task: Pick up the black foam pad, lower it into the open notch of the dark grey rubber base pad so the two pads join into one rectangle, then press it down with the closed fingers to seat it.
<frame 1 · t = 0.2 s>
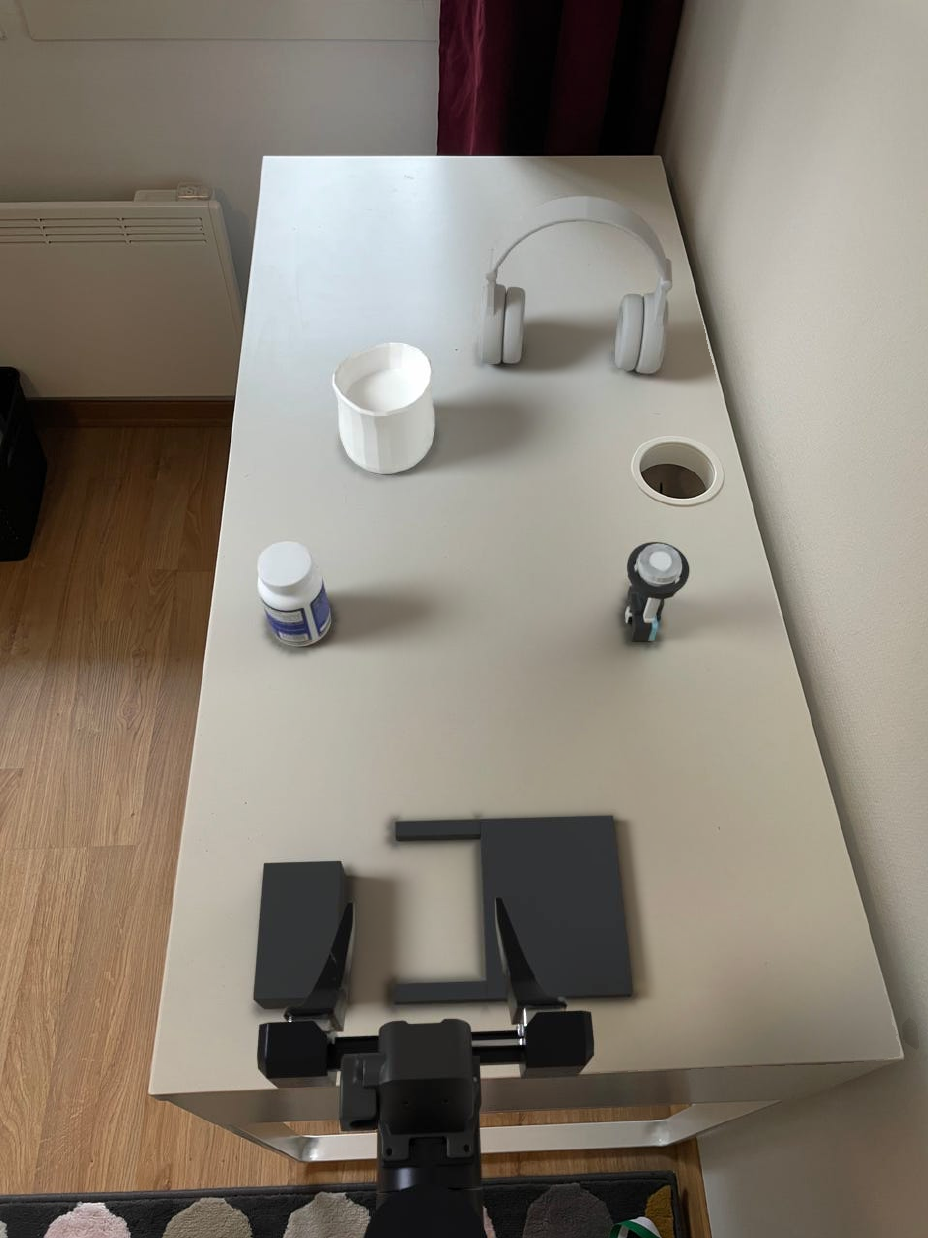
hand: (424, 900, 60), 17 cm above the table, tool horizontal, fingers open, 9 cm apart
pill bottle: (301, 623, 90), on the table
foam pad: (305, 939, 75), on the table
base pad: (495, 908, 76), on the table
cup: (388, 443, 101), on the table
headphones: (567, 358, 108), on the table
push button: (640, 615, 91), on the table
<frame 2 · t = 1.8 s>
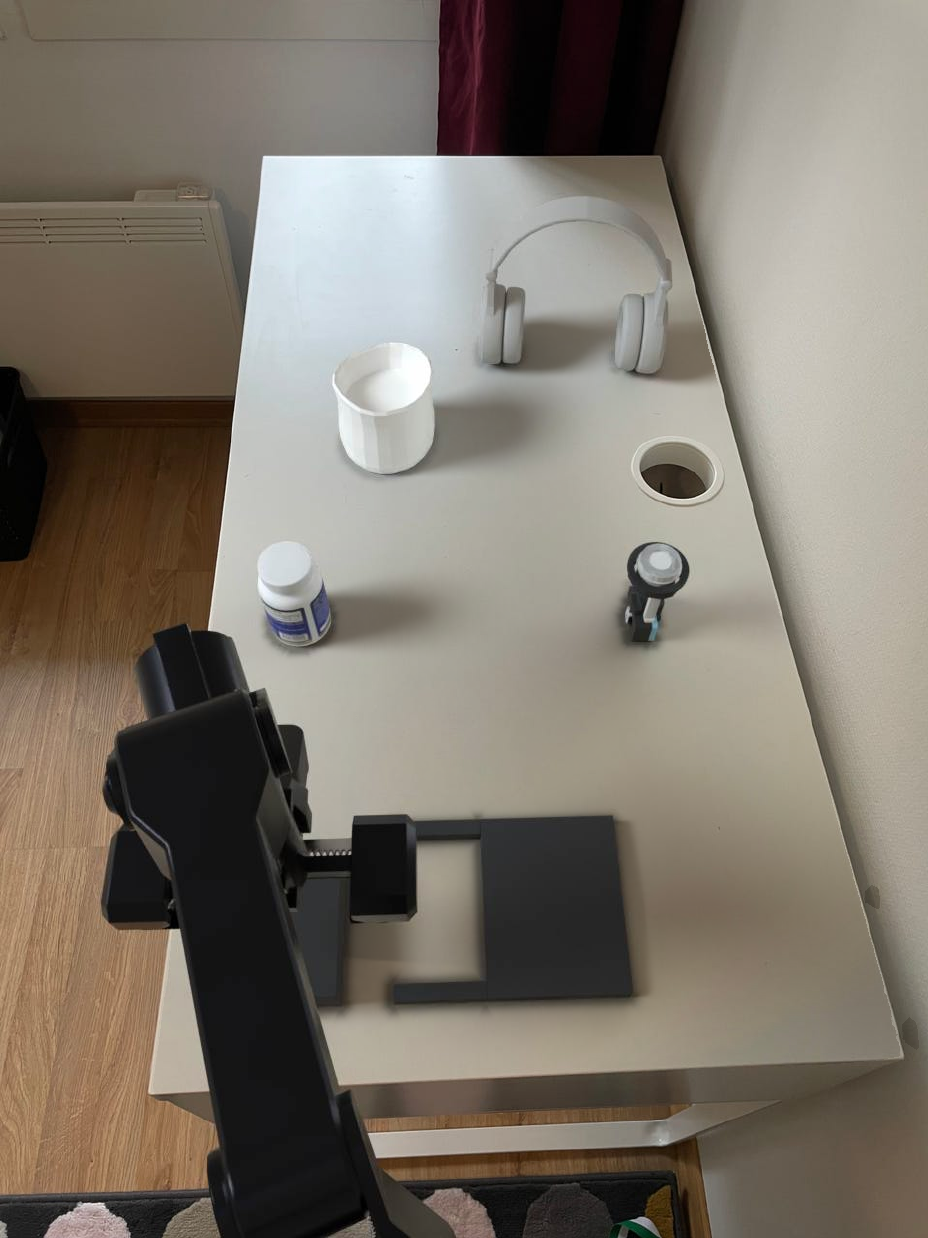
hand: (285, 905, 66), 11 cm above the table, tool pointing down, fingers open, 9 cm apart
nothing on the table moved.
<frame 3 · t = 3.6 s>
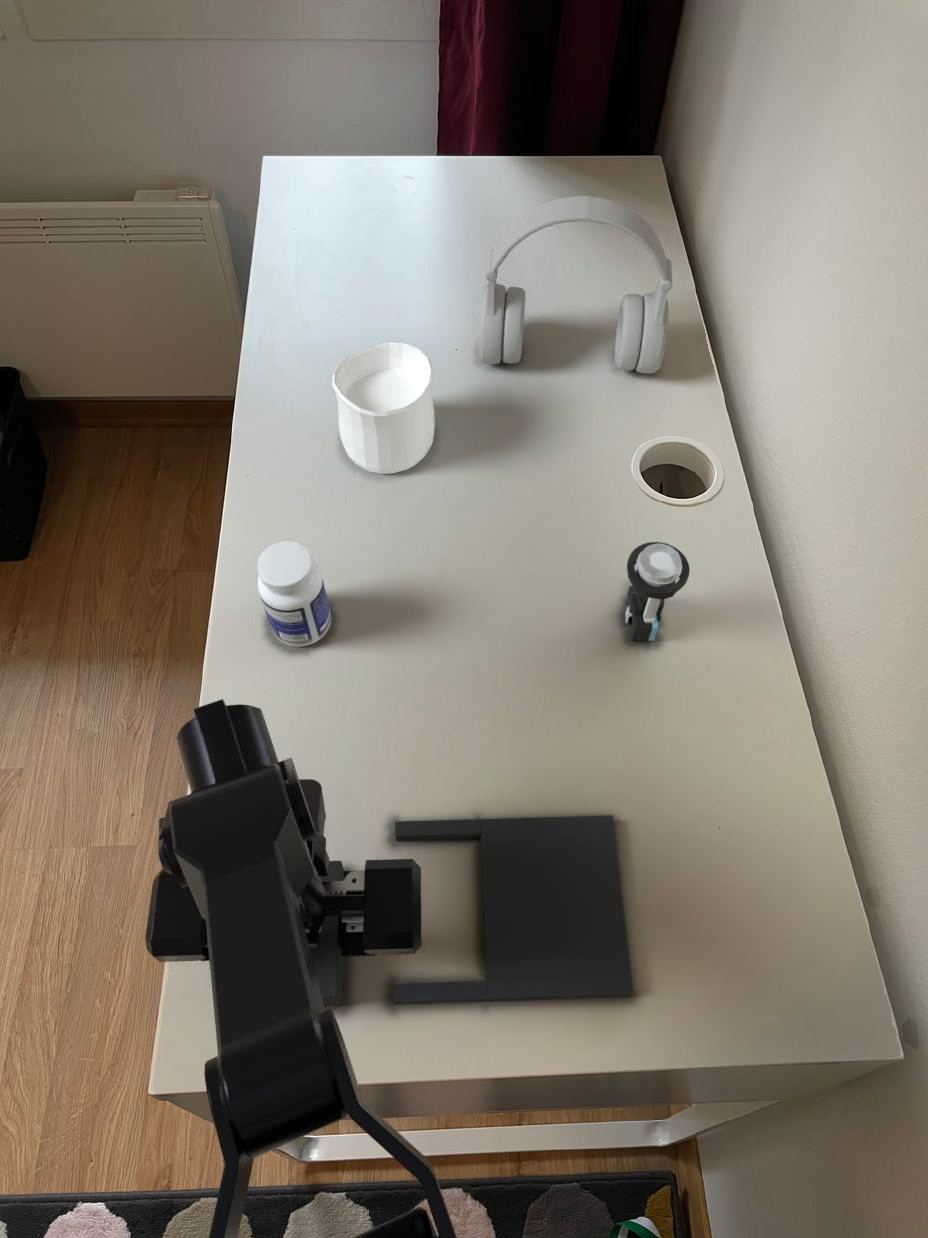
hand: (304, 936, 74), 1 cm above the table, tool pointing down, fingers closed on foam pad, 6 cm apart
foam pad: (305, 939, 75), on the table, touching gripper
everything else where it was.
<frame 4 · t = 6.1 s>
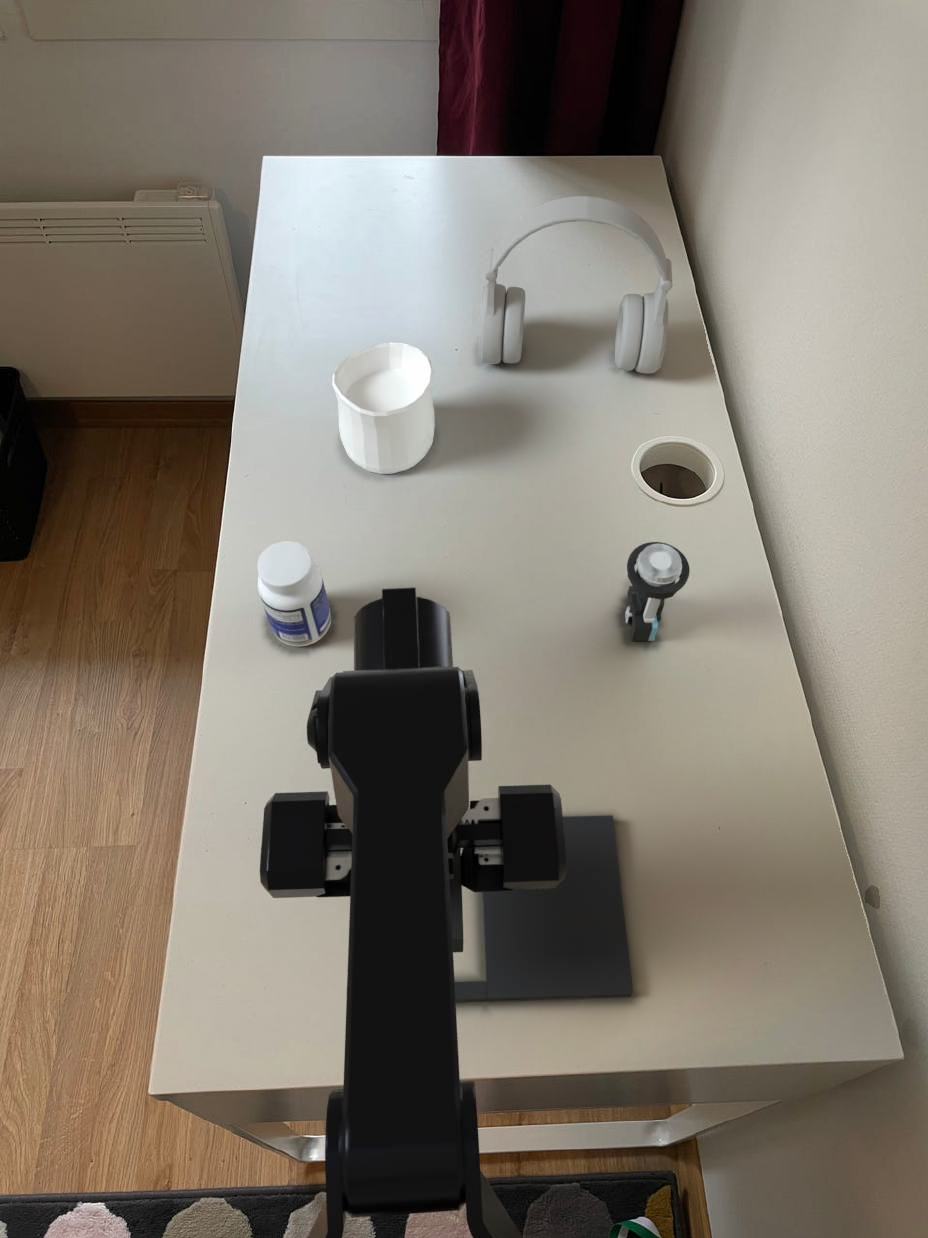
hand: (418, 877, 67), 10 cm above the table, tool pointing down, fingers closed on foam pad, 6 cm apart
foam pad: (418, 881, 68), point 9 cm above the table, touching gripper
everything else where it was.
when the fingers open (1 cm above the table, at t = 8.8 s): foam pad stays where it is, on the table.
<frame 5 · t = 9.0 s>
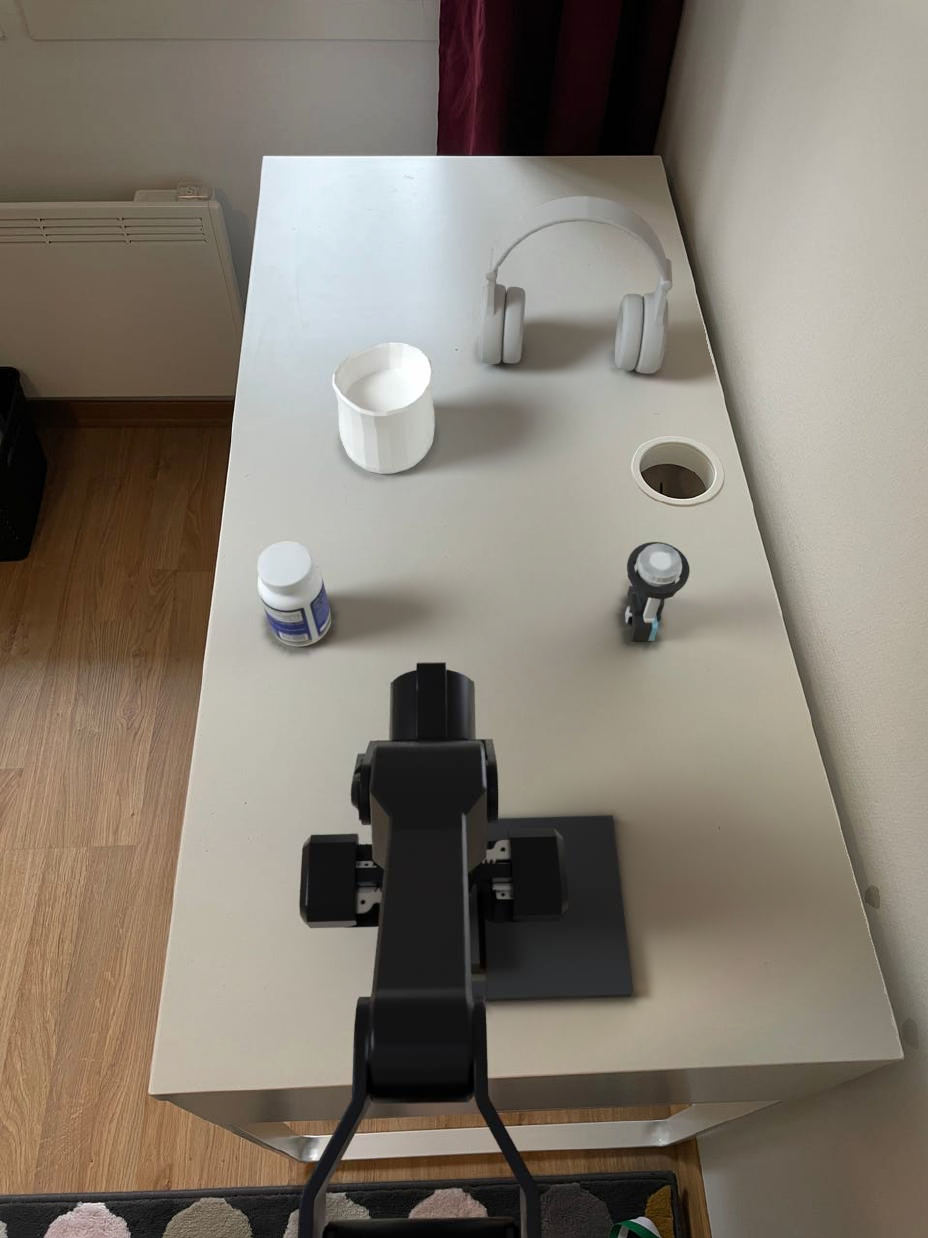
hand: (435, 907, 75), 1 cm above the table, tool pointing down, fingers open, 7 cm apart
foam pad: (438, 909, 76), on the table
everything else where it was.
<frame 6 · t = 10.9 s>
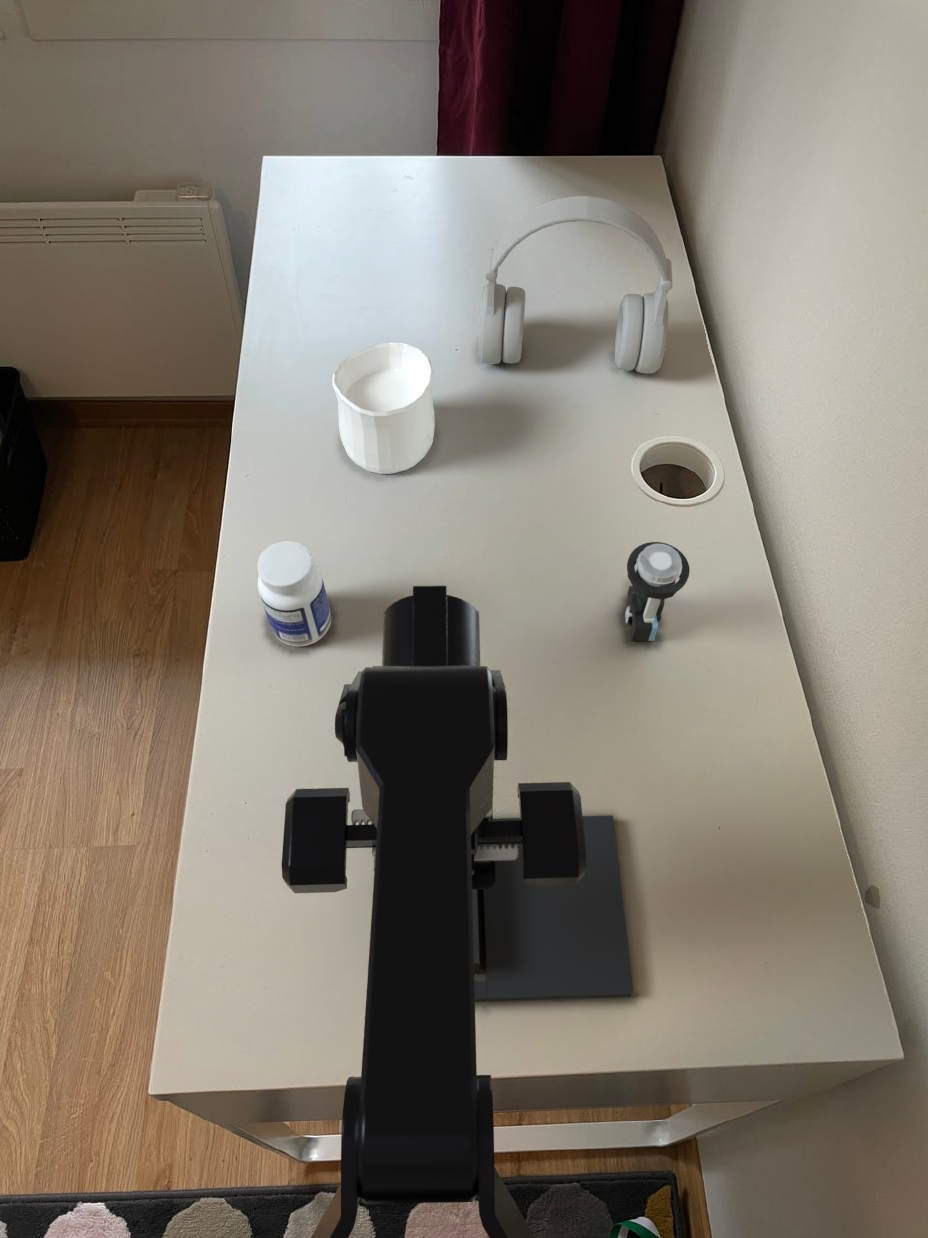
hand: (436, 874, 68), 10 cm above the table, tool pointing down, fingers closed
nothing on the table moved.
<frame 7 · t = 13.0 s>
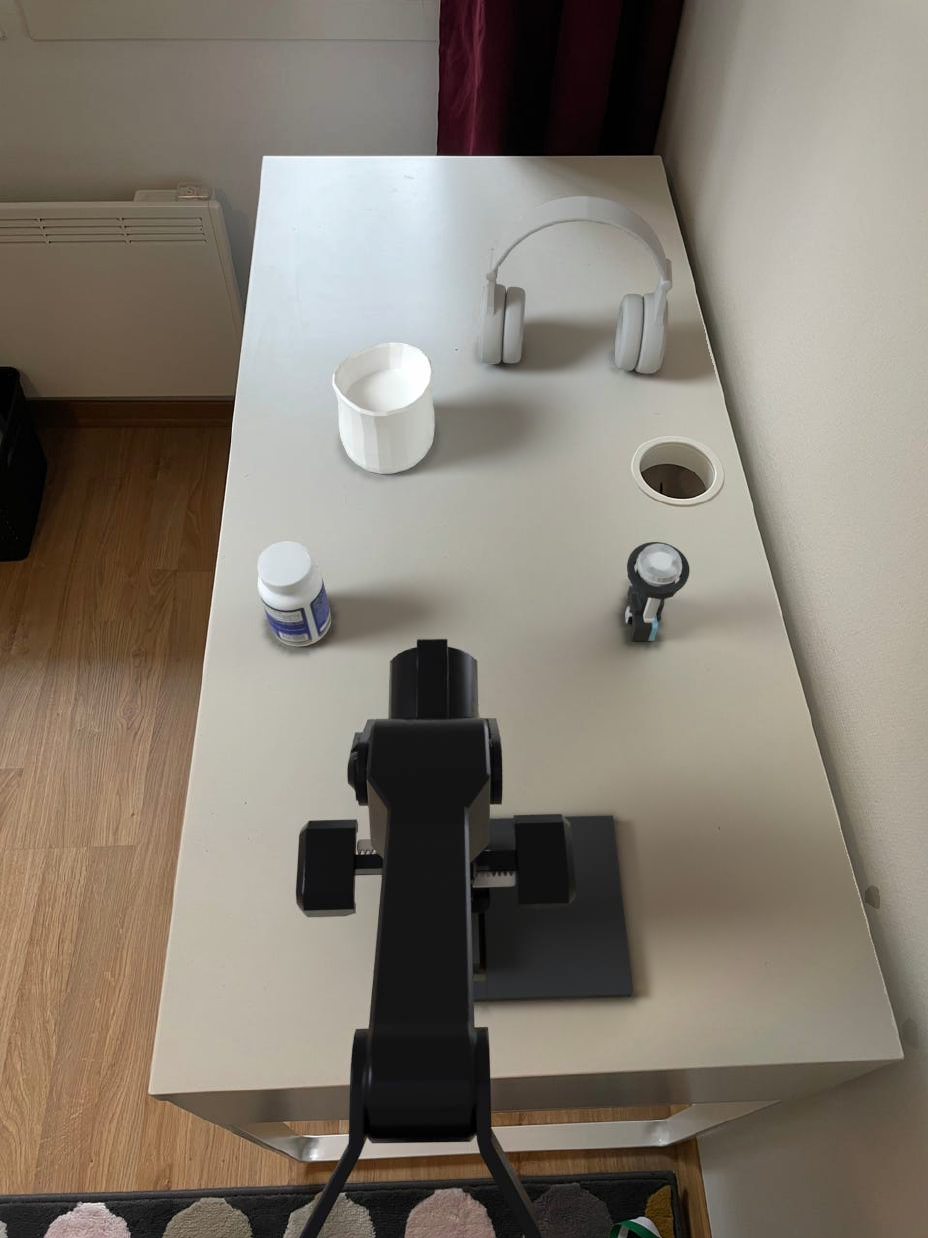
hand: (438, 896, 73), 4 cm above the table, tool pointing down, fingers closed, pressing on foam pad
foam pad: (438, 909, 76), on the table, touching gripper
everything else where it was.
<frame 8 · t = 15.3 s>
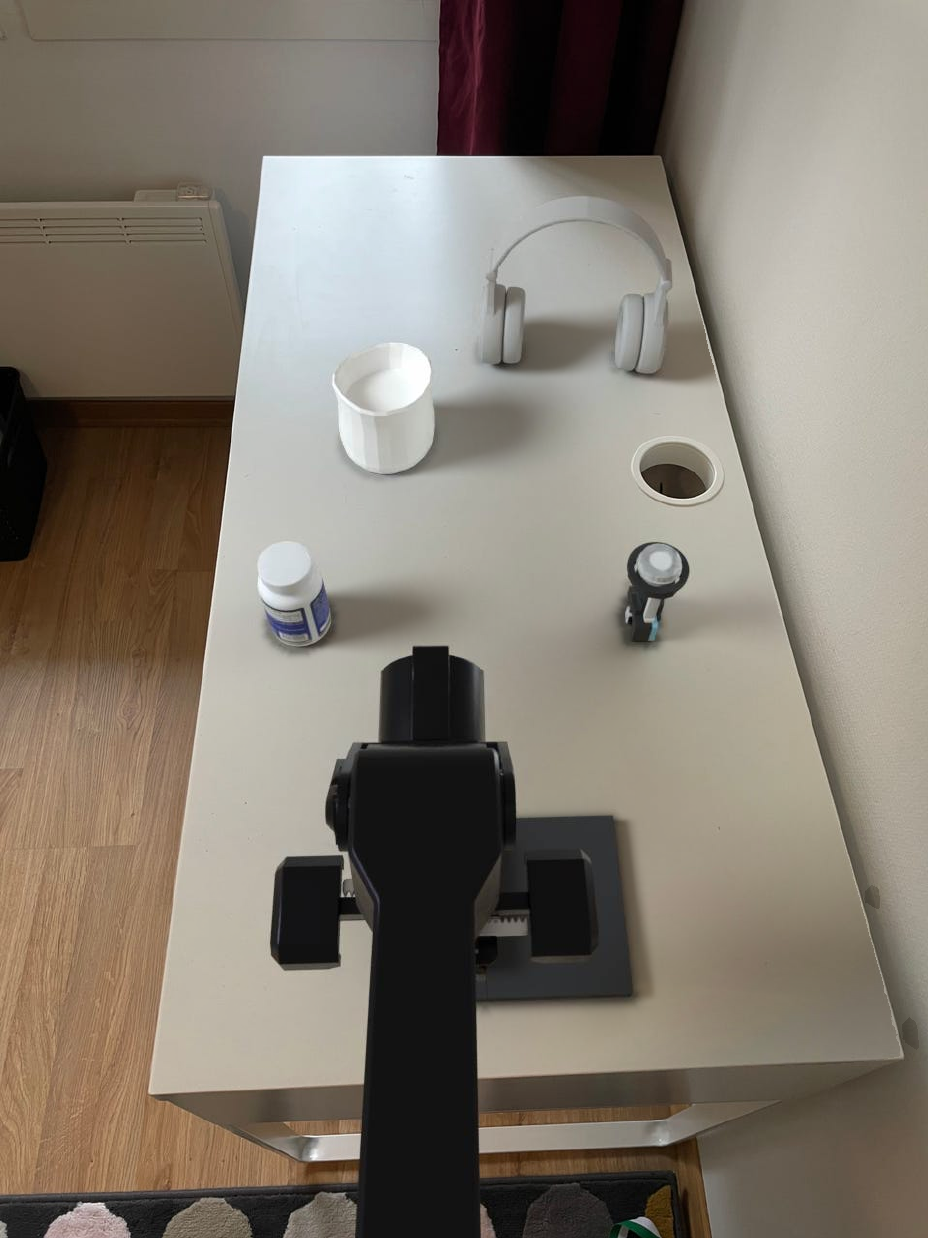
hand: (437, 940, 63), 12 cm above the table, tool pointing down, fingers closed
foam pad: (438, 909, 76), on the table
everything else where it was.
at the end: foam pad 0.0 cm from the target spot on the base pad, point 0.0 cm above the base pad's base; foam pad tilted 0°; cup moved 0.2 cm from its start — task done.
